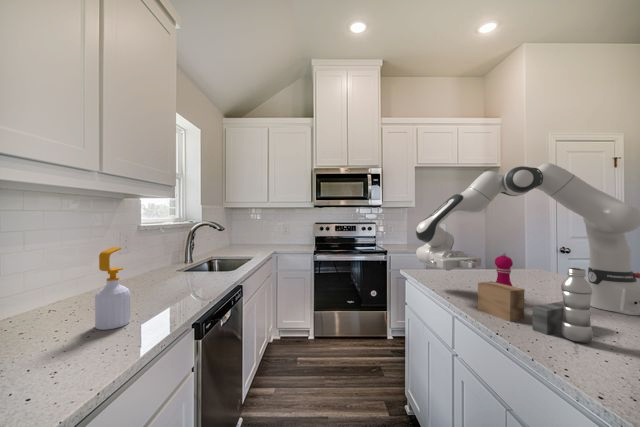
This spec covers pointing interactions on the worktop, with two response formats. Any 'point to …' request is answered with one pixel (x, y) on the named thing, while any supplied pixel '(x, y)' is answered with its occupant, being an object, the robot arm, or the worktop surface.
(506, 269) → the pepper mill
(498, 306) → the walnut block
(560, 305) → the charcoal board
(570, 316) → the silver metal bottle
